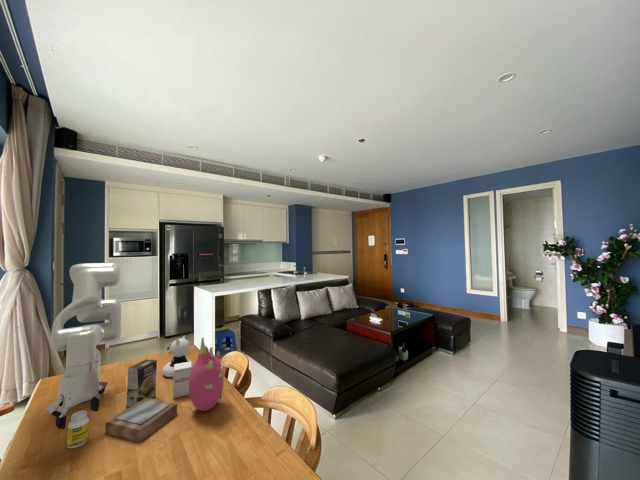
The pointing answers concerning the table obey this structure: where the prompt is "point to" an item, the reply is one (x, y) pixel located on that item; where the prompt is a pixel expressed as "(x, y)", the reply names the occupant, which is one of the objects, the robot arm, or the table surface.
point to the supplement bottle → (78, 429)
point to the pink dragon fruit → (206, 379)
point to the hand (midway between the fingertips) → (78, 419)
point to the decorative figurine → (177, 355)
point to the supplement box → (181, 379)
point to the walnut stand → (141, 419)
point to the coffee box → (141, 381)
